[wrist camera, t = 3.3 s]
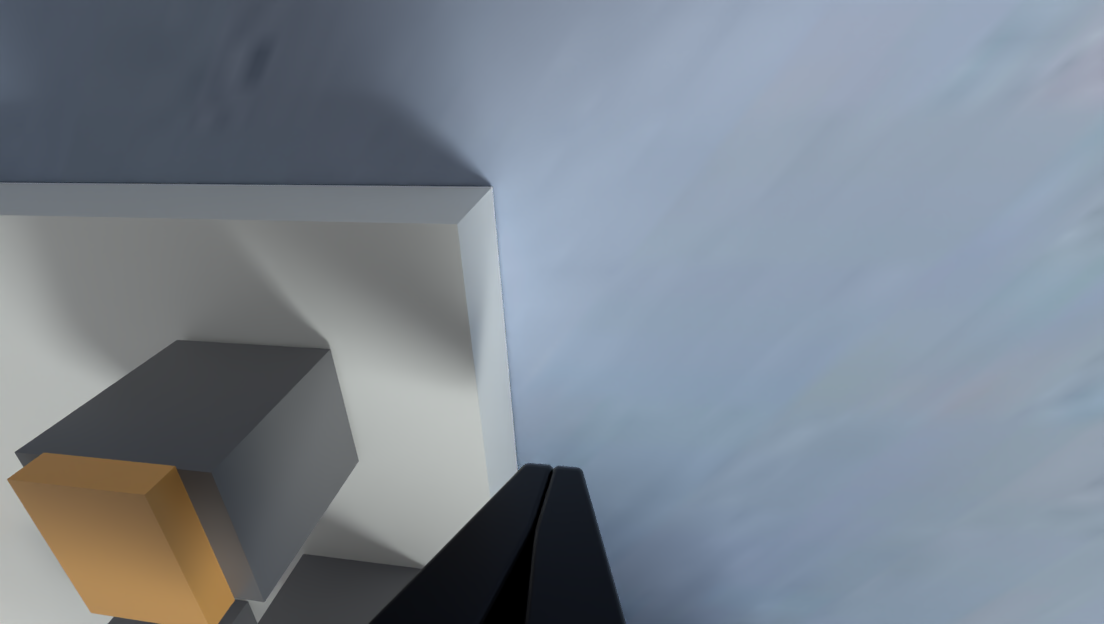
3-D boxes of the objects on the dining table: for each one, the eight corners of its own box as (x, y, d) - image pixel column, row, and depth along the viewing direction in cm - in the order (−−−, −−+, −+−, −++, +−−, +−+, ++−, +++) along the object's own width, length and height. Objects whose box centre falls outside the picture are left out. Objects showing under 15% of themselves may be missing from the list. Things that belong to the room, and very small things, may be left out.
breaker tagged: (329, 346, 10) (181, 498, 7) (359, 463, 11) (243, 636, 8) (176, 337, 10) (-27, 475, 7) (219, 450, 12) (62, 608, 9)
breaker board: (492, 186, 10) (366, 321, 6) (535, 664, 17) (488, 895, 12) (-200, 180, 13) (-633, 271, 9) (66, 594, 20) (-106, 764, 15)
